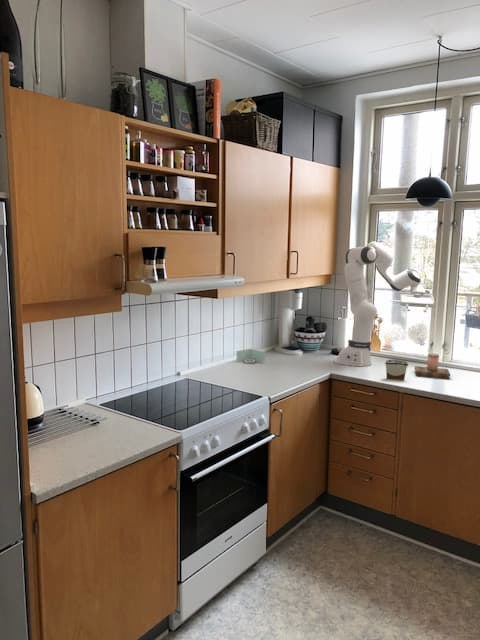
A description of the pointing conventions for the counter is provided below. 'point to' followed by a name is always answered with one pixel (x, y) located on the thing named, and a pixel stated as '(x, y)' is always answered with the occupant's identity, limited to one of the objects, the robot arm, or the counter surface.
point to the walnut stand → (432, 372)
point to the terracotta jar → (432, 362)
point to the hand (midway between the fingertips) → (416, 311)
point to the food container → (395, 369)
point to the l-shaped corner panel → (250, 356)
